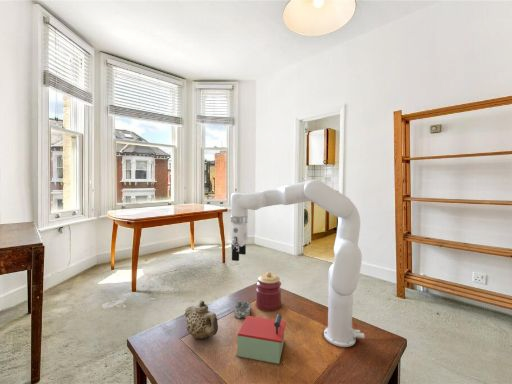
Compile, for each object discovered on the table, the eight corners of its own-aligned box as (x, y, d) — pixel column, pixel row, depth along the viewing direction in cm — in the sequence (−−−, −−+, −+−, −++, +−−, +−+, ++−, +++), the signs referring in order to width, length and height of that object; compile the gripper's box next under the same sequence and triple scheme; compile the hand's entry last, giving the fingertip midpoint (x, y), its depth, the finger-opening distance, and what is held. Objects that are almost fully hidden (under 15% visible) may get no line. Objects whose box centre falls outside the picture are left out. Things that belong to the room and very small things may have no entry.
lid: (286, 323, 99) (286, 310, 98) (281, 343, 86) (281, 328, 86) (247, 317, 103) (247, 305, 102) (237, 335, 90) (237, 321, 90)
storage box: (283, 341, 99) (284, 323, 99) (279, 364, 87) (279, 342, 87) (246, 335, 103) (247, 317, 103) (237, 356, 91) (237, 335, 90)
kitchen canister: (285, 303, 131) (285, 270, 130) (273, 314, 120) (274, 278, 119) (264, 296, 138) (264, 266, 137) (251, 306, 127) (251, 273, 126)
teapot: (176, 331, 105) (175, 297, 105) (198, 320, 114) (198, 288, 113) (205, 355, 91) (205, 316, 90) (228, 341, 99) (229, 305, 98)
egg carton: (249, 319, 115) (249, 310, 115) (233, 318, 116) (233, 310, 115) (250, 307, 126) (250, 299, 126) (236, 307, 126) (236, 299, 126)
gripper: (241, 223, 101) (240, 264, 102) (252, 217, 118) (252, 252, 118) (224, 222, 103) (224, 262, 104) (237, 216, 120) (237, 251, 120)
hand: (239, 257), depth 111 cm, fingers open, 9 cm apart
